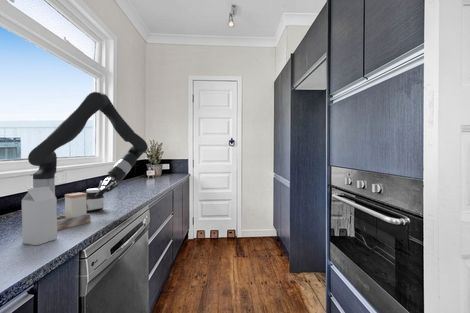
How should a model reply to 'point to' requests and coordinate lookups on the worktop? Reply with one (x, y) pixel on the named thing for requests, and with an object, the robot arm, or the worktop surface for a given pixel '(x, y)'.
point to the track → (72, 221)
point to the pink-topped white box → (75, 205)
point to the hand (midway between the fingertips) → (96, 197)
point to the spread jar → (94, 201)
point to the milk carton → (39, 216)
